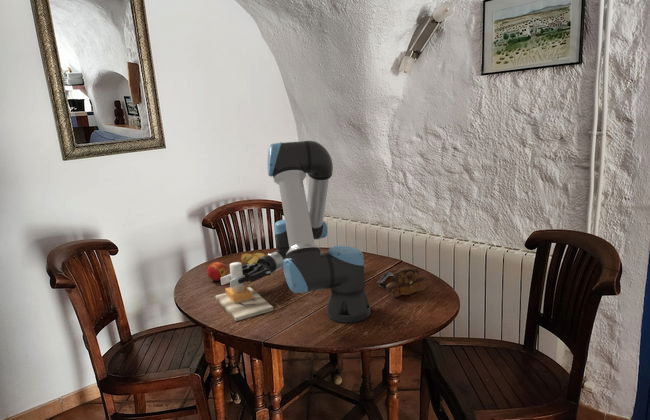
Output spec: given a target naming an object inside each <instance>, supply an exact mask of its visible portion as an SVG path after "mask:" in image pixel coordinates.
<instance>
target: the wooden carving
mask: <svg viewBox="0 0 650 420" xmlns="http://www.w3.org/2000/svg"><path fill="white" fill-rule="evenodd" d="M419 275H420V271H419V269H417V268H415V267H412V268H411V267H403V268H400V269H398V270H397V271H393V277H392V279H393V280H394V281H391V282H388V283H387V284H388V285H386V288H385V289H386V290H387V292H388V295H389V296H392V297H396V296H398V295H402V296H409V295H412V294H414V293H416V292H417V291H419V290H420V289H421V288H422V287H423V285H422V283H421V282H423V281H424V280H425V279H426V277H424V276H419Z"/></svg>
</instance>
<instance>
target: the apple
mask: <svg viewBox="0 0 650 420" xmlns="http://www.w3.org/2000/svg"><path fill="white" fill-rule="evenodd" d="M206 273H207V276H208V278H210V279H211V280H212V281H215V282H216V281H218V282H219V281H220V282H221V280H220V278H221V277H224V276H226V275H228V267H227V266H226V264H225V263H223V262H220V261H215V262H212V263H210V264H209V266H208V267H207V271H206Z"/></svg>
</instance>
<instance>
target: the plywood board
mask: <svg viewBox="0 0 650 420" xmlns="http://www.w3.org/2000/svg"><path fill="white" fill-rule="evenodd" d="M246 288H247V289H249V290H250V291H251V292H252V299H249V300H245V301H242V302H238V303H234V302H233V301H232V300H231V299H230V298H229V297H228V296H227V295H226V292H224V293H221V294H217V295H215V299H216V301H217V302H218V303H219V304H220V305H221V306H222V307H223V308H224V310H225V311H226V312H227V313H228V314H229V315H230V316H231V317H232V319H233V320H234V321H235V322H237V321H241V320H245V319H248V318H252V317H256V316H258V315H261V314H266V313H269V312H272V311H274V306H273V305H272V304H270V303H269V302H268V301H267V300H265V298H264V297H262V296H261V295H260V294H259V293H258V292H257V291H255V289H253V288H252V287H251V286H248V287H247V286H246Z"/></svg>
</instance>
